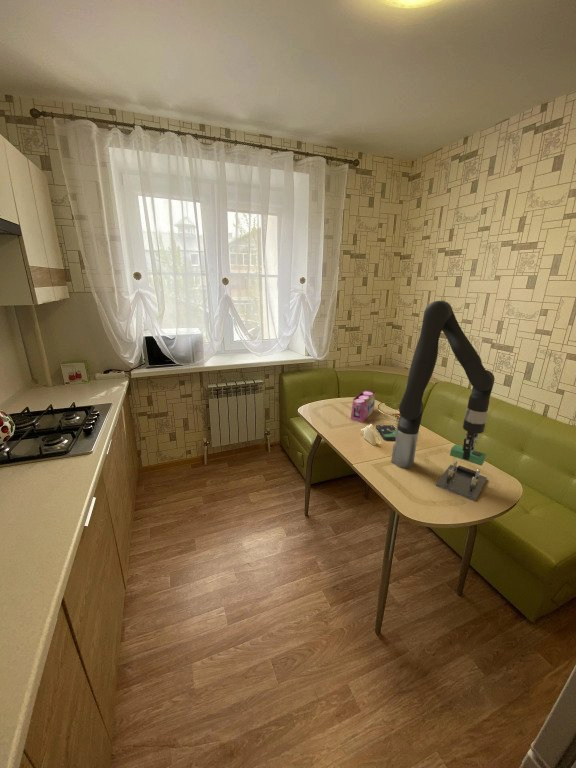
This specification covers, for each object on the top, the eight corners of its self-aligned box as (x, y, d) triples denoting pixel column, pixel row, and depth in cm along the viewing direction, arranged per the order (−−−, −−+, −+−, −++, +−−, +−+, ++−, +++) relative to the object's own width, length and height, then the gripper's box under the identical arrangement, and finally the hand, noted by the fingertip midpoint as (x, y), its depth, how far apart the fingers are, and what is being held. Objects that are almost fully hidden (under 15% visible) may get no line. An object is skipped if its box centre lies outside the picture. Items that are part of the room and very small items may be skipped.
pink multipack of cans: (361, 423, 192) (363, 402, 188) (349, 420, 196) (351, 400, 192) (374, 410, 211) (376, 391, 207) (362, 408, 215) (364, 389, 211)
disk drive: (375, 429, 185) (384, 441, 171) (375, 425, 185) (384, 436, 171) (392, 429, 186) (402, 440, 172) (392, 424, 185) (403, 436, 171)
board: (449, 455, 134) (451, 448, 133) (453, 450, 138) (454, 443, 137) (481, 465, 127) (483, 458, 125) (484, 460, 130) (486, 453, 129)
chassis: (435, 485, 134) (438, 472, 132) (450, 466, 148) (452, 454, 146) (475, 501, 124) (478, 487, 122) (486, 479, 138) (489, 466, 136)
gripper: (469, 411, 134) (462, 447, 139) (459, 422, 124) (452, 459, 129) (489, 416, 130) (481, 453, 135) (481, 427, 119) (473, 466, 125)
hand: (467, 456), depth 132 cm, fingers closed on board, 5 cm apart
